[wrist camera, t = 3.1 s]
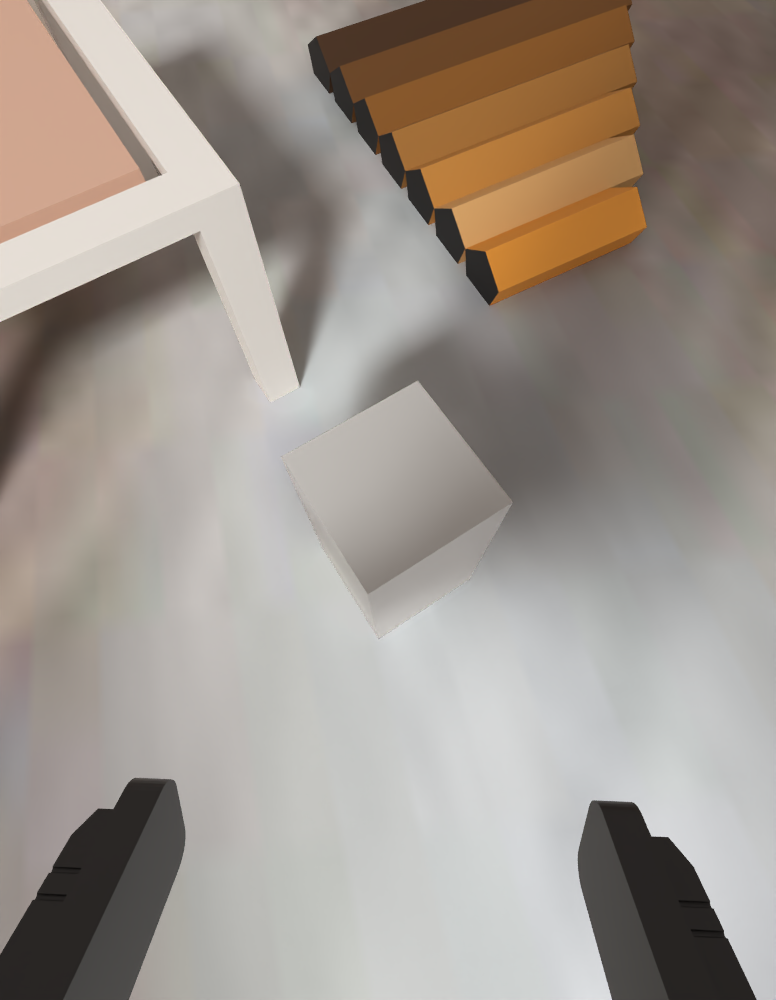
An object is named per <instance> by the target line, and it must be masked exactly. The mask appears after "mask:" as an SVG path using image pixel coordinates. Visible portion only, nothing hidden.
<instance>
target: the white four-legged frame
mask: <svg viewBox="0 0 776 1000" xmlns="http://www.w3.org/2000/svg"><path fill="white" fill-rule="evenodd" d="M34 1H35V3H36V5H37V7H38V9H39V11H40V13H41V15H42V17H43V19H44V21H45V22H46V24H47V26H48V28H49V30H50V32H51V34H52V36H53V38H54V40H55V42H56V44H57V46H58V48H59V49H60V51H61V52H62V54H63V55H64V57H65V58H66V60H67V61H68V63H69V64H70V66H71V67H72V69H73V70H74V72H75V73H76V75H77V76H78V78H79V79H80V81H81V82H82V84H83V85H84V87H85V88H86V90H87V91H88V93H89V94H90V96H91V97H92V98H93V100H94V101H95V103H96V104H97V106H98V107H99V109H100V110H101V112H102V113H103V115H104V116H105V118H106V119H107V121H108V122H109V124H110V125H111V127H112V128H113V130H114V131H115V133H116V134H117V136H118V137H119V139H120V140H121V142H122V143H123V145H124V146H125V148H126V149H127V151H128V152H129V154H130V155H131V157H132V158H133V160H134V161H135V163H136V164H137V166H138V167H139V169H140V171H141V173H142V175H143V177H144V179H145V181H146V182H144V183H141V184H139V185H137V186H134V187H132V188H130V189H127V190H125V191H123V192H120V193H118V194H116V195H113V196H111V197H109V198H106V199H104V200H102V201H99V202H97V203H95V204H92V205H90V206H87V207H85V208H83V209H80V210H78V211H76V212H73V213H71V214H69V215H66V216H64V217H62V218H59V219H57V220H55V221H52V222H50V223H48V224H45V225H43V226H41V227H38V228H36V229H33V230H31V231H29V232H26V233H24V234H22V235H19V236H17V237H15V238H12V239H10V240H8V241H5V242H3V243H1V244H0V322H1V321H3V320H5V319H8V318H10V317H12V316H14V315H16V314H19V313H21V312H23V311H25V310H27V309H30V308H32V307H34V306H36V305H38V304H41V303H43V302H45V301H47V300H49V299H52V298H54V297H56V296H58V295H60V294H63V293H65V292H67V291H69V290H71V289H74V288H76V287H78V286H80V285H82V284H85V283H87V282H89V281H91V280H93V279H96V278H98V277H100V276H102V275H104V274H107V273H109V272H111V271H113V270H115V269H118V268H120V267H122V266H124V265H127V264H129V263H131V262H133V261H135V260H138V259H140V258H142V257H144V256H146V255H149V254H151V253H153V252H155V251H157V250H160V249H162V248H164V247H166V246H168V245H171V244H173V243H175V242H177V241H179V240H182V239H184V238H186V237H188V236H190V235H194V237H195V239H196V242H197V244H198V246H199V249H200V251H201V254H202V256H203V258H204V261H205V263H206V265H207V268H208V270H209V272H210V275H211V277H212V279H213V282H214V284H215V286H216V289H217V291H218V294H219V296H220V298H221V301H222V303H223V305H224V308H225V310H226V312H227V315H228V317H229V319H230V322H231V324H232V326H233V329H234V331H235V334H236V336H237V338H238V341H239V343H240V345H241V348H242V350H243V352H244V355H245V357H246V359H247V362H248V364H249V366H250V369H251V371H252V373H253V376H254V378H255V380H256V382H257V383H258V385H259V386H260V388H261V389H262V391H263V392H264V394H265V395H266V397H267V398H268V400H269V402H270V403H271V402H273V401H275V400H277V399H279V398H281V397H283V396H284V395H286V394H288V393H290V392H292V391H294V390H296V389H298V388H299V387H300V386H299V383H298V379H297V376H296V372H295V369H294V366H293V362H292V359H291V356H290V352H289V349H288V345H287V342H286V339H285V335H284V332H283V329H282V325H281V322H280V318H279V315H278V312H277V308H276V305H275V302H274V298H273V295H272V292H271V288H270V285H269V281H268V278H267V275H266V271H265V268H264V265H263V261H262V258H261V254H260V251H259V248H258V244H257V241H256V238H255V234H254V231H253V227H252V224H251V221H250V217H249V214H248V211H247V207H246V204H245V200H244V197H243V194H242V190H241V187H240V184H239V182H238V181H237V179H236V178H235V177H234V176H233V174H232V173H231V172H230V170H229V169H228V168H227V166H226V165H225V164H224V162H223V161H222V160H221V158H220V157H219V156H218V154H217V153H216V152H215V151H214V149H213V148H212V147H211V145H210V144H209V143H208V141H207V140H206V139H205V137H204V136H203V135H202V133H201V132H200V131H199V129H198V128H197V127H196V125H195V124H194V123H193V122H192V120H191V119H190V118H189V116H188V115H187V114H186V112H185V111H184V110H183V108H182V107H181V106H180V104H179V103H178V102H177V100H176V99H175V98H174V97H173V95H172V94H171V93H170V91H169V90H168V89H167V87H166V86H165V85H164V83H163V82H162V81H161V79H160V78H159V77H158V75H157V74H156V73H155V71H154V70H153V69H152V68H151V66H150V65H149V64H148V62H147V61H146V60H145V58H144V57H143V56H142V54H141V53H140V52H139V50H138V49H137V48H136V46H135V45H134V44H133V43H132V41H131V40H130V39H129V37H128V36H127V35H126V33H125V32H124V31H123V29H122V28H121V27H120V25H119V24H118V23H117V21H116V20H115V19H114V18H113V16H112V15H111V14H110V12H109V11H108V10H107V8H106V7H105V6H104V4H103V3H102V2H101V0H34ZM151 160H152V161H151ZM152 162H153V163H154V164H155V166H156V167H157V169H158V170H159V172H160V173H161V175H160V176H158V174H157V172H156V170H155V168H154V165H153V163H152Z"/></svg>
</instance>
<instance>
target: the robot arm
mask: <svg viewBox="0 0 776 1000" xmlns="http://www.w3.org/2000/svg"><path fill="white" fill-rule="evenodd" d="M184 846H185V826H184V821H183V816H182V811H181V806H180V801H179V796H178V791H177V786H176V783H175V781H174V780H171V779H149V778H134V779H132V780H131V781H130V782H129V783H128V784H127V786H126V787H125V789H124V791H123V793H122V795H121V796H120V798H119V800H118V802H117V804H116V806H115V807H114V809H97V810H96V811H95V812H94V813H93V814H92V815H91V816H90V817H89V818H88V819H87V820H86V821H85V822H84V823H83V824H82V825H81V826H80V827H79V828H78V829H77V830H76V831H75V832H74V833H73V834H72V835H71V837H70V838H69V840H68V842H67V843H66V845H65V847H64V848H63V850H62V852H61V853H60V855H59V857H58V859H57V860H56V862H55V864H54V865H53V870H52V872H51V873H49V874H48V875H47V877H46V879H45V880H44V882H43V884H42V885H41V887H40V889H39V891H38V892H37V897H36V899H35V900H33V901H32V902H31V904H30V906H29V907H28V909H27V911H26V912H25V914H24V916H23V917H22V919H21V921H20V922H19V924H18V926H17V928H16V929H15V931H14V933H13V934H12V936H11V938H10V939H9V941H8V943H7V944H6V946H5V948H4V949H3V951H2V953H1V954H0V1000H129V997H130V995H131V992H132V990H133V987H134V984H135V982H136V979H137V977H138V974H139V971H140V969H141V966H142V963H143V961H144V958H145V956H146V953H147V950H148V948H149V945H150V943H151V940H152V937H153V935H154V932H155V929H156V927H157V924H158V922H159V919H160V916H161V914H162V911H163V909H164V906H165V903H166V901H167V898H168V896H169V893H170V890H171V888H172V885H173V882H174V880H175V877H176V875H177V872H178V869H179V867H180V864H181V860H182V856H183V852H184ZM578 871H579V878H580V884H581V888H582V892H583V896H584V899H585V903H586V907H587V910H588V914H589V917H590V921H591V925H592V928H593V932H594V936H595V939H596V943H597V946H598V950H599V954H600V957H601V961H602V964H603V968H604V972H605V975H606V979H607V982H608V986H609V990H610V993H611V997H612V1000H756V997H755V995H754V993H753V991H752V989H751V987H750V985H749V983H748V981H747V978H746V976H745V974H744V972H743V970H742V968H741V966H740V964H739V962H738V959H737V957H736V955H735V953H734V951H733V949H732V947H731V945H730V943H729V940H728V939H727V938H725V936H724V930H723V928H722V926H721V924H720V921H719V919H718V917H717V915H716V913H715V911H714V909H712V908H711V906H710V900H709V898H708V896H707V894H706V892H705V890H704V888H703V886H702V884H701V881H700V879H699V877H698V875H697V873H696V871H695V869H694V867H693V866H692V865H691V863H690V862H689V861H688V860H687V859H686V857H685V856H684V855H683V854H682V853H681V852H680V850H679V849H678V848H677V847H676V846H675V845H674V843H673V842H672V841H671V840H670V839H669V838H668V837H651V835H650V833H649V830H648V828H647V826H646V823H645V821H644V819H643V816H642V814H641V812H640V810H639V808H638V807H637V806H636V804H634V803H633V802H617V801H595V800H594V801H592V802H591V803H590V806H589V810H588V814H587V818H586V822H585V826H584V830H583V834H582V838H581V842H580V846H579V851H578Z"/></svg>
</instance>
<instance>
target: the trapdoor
mask: <svg viewBox="0 0 776 1000" xmlns="http://www.w3.org/2000/svg"><path fill="white" fill-rule="evenodd" d="M144 182H146V181H145V179H144V177H143V175H142V173H141V171H140V169H139V167H138V166H137V164H136V163H135V161H134V160H133V158H132V157H131V155H130V154H129V152H128V151H127V149H126V148H125V146H124V145H123V143H122V142H121V140H120V139H119V137H118V136H117V134H116V133H115V131H114V130H113V128H112V127H111V125H110V124H109V122H108V121H107V119H106V118H105V116H104V115H103V113H102V112H101V110H100V109H99V107H98V106H97V104H96V103H95V101H94V100H93V98H92V97H91V96H90V94H89V93H88V91H87V90H86V88H85V87H84V85H83V84H82V82H81V81H80V79H79V78H78V76H77V75H76V73H75V72H74V70H73V69H72V67H71V66H70V64H69V63H68V61H67V60H66V58H65V57H64V55H63V54H62V52H61V51H60V49H59V48H58V46H57V45H56V43H55V42H54V40H53V39H52V37H51V36H50V34H49V33H48V31H47V30H46V28H45V27H44V25H43V24H42V22H41V21H40V19H39V18H38V16H37V15H36V13H35V12H34V10H33V9H32V8H31V6H30V5H29V3H28V2H27V0H0V244H1V243H3V242H5V241H8V240H10V239H12V238H15V237H17V236H19V235H22V234H24V233H26V232H29V231H31V230H33V229H36V228H38V227H41V226H43V225H45V224H48V223H50V222H52V221H55V220H57V219H59V218H62V217H64V216H66V215H69V214H71V213H73V212H76V211H78V210H80V209H83V208H85V207H87V206H90V205H92V204H95V203H97V202H99V201H102V200H104V199H106V198H109V197H111V196H113V195H116V194H118V193H120V192H123V191H125V190H127V189H130V188H132V187H134V186H137V185H139V184H141V183H144Z"/></svg>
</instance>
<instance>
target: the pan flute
mask: <svg viewBox="0 0 776 1000" xmlns="http://www.w3.org/2000/svg"><path fill="white" fill-rule="evenodd" d="M631 5H632V1H631V0H425V1H422V2H419V3H416V4H413V5H410V6H407V7H404V8H401V9H398V10H395V11H392V12H389V13H386V14H383V15H380V16H377V17H374V18H371V19H368V20H365V21H362V22H359V23H356V24H353V25H350V26H347V27H344V28H341V29H338V30H335V31H332V32H329V33H326V34H323V35H320V36H316V37H315V38H314V39H313V40H312V41H311V42H310V43H309V44H308V47H309V52H310V57H311V61H312V66H313V71H314V74H315V75H316V77H317V78H318V79H319V81H320V82H321V83H322V85H323V86H324V87H325V88H326V90H327V91H328V92H329V93H332V92H334V97H335V102H336V103H337V104H338V106H339V107H340V108H341V110H342V111H343V112H344V114H345V115H346V116H347V118H348V119H349V120H350V122H351V123H354V122H357V127H358V132H359V134H360V135H361V136H362V138H363V139H364V140H365V142H366V143H367V144H368V146H369V147H370V148H371V150H372V151H373V152H374V153H375V155H377V154H379V153H381V157H382V163H383V165H384V167H385V168H386V169H387V171H388V172H389V173H390V175H391V176H392V177H393V179H394V180H395V181H396V183H397V184H398V185H399V187H400V188H401V189H402V188H404V187H407V189H408V198H409V200H410V201H411V203H412V204H413V205H414V207H415V208H416V209H417V211H418V212H419V213H420V214H421V216H422V217H423V218H424V220H425V221H426V222H427V224H428V225H430V224H432V223H435V224H436V236H437V237H438V238H439V240H440V241H441V242H442V244H443V245H444V246H445V248H446V249H447V250H448V252H449V253H450V254H451V256H452V257H453V258H454V260H455V261H456V262H457V264H459V263H461V262H463V261H466V275H467V277H468V278H469V279H470V281H471V282H472V283H473V285H474V286H475V287H476V289H477V290H478V291H479V293H480V294H481V295H482V297H483V298H484V299H485V301H486V302H487V303H488V305H489V306H490V305H492V304H494V303H497V302H499V301H501V300H503V299H506V298H508V297H510V296H512V295H515V294H517V293H519V292H521V291H524V290H526V289H528V288H530V287H533V286H535V285H537V284H539V283H542V282H544V281H546V280H548V279H551V278H553V277H555V276H557V275H560V274H562V273H564V272H566V271H569V270H571V269H573V268H575V267H577V266H580V265H582V264H584V263H586V262H589V261H591V260H593V259H595V258H598V257H600V256H602V255H604V254H607V253H609V252H611V251H613V250H616V249H618V248H620V247H622V246H625V245H627V244H629V243H631V242H632V241H633V240H634V239H635V238H636V237H637V236H638V235H639V234H640V233H641V232H642V231H643V230H644V229H645V228H646V227H647V226H646V221H645V217H644V213H643V209H642V205H641V201H640V197H639V193H638V188H637V187H632V186H633V185H634V184H635V183H636V181H637V180H638V179H639V178H640V177H641V176H642V175H643V170H642V166H641V162H640V158H639V153H638V149H637V145H636V141H635V137H634V135H633V134H634V133H635V131H636V130H637V129H638V127H639V126H640V123H639V118H638V114H637V110H636V106H635V101H634V97H633V93H632V88H633V87H634V85H635V84H636V82H637V78H636V74H635V70H634V65H633V61H632V57H631V52H630V47H631V46H632V44H633V43H634V36H633V32H632V28H631V23H630V19H629V14H628V10H629V8H630V7H631Z"/></svg>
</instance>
